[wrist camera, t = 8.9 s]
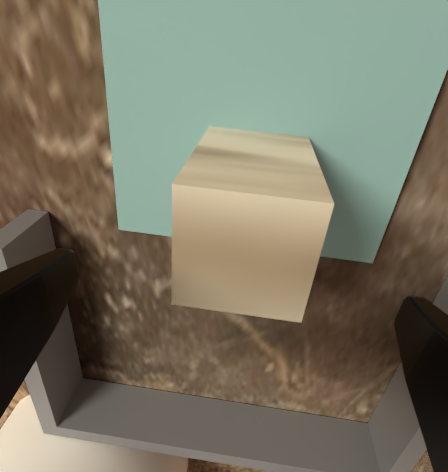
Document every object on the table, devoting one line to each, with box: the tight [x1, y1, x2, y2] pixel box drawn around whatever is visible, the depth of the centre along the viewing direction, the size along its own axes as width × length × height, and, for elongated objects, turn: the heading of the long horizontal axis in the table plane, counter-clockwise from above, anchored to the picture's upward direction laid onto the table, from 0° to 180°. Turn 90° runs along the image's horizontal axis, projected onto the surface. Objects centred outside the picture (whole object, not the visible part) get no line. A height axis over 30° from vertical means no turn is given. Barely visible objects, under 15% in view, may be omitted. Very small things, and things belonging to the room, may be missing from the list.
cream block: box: [172, 126, 334, 323], centre depth 13 cm, size 4×4×7 cm
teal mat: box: [98, 0, 448, 263], centre depth 16 cm, size 12×14×1 cm
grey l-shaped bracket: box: [0, 209, 448, 472], centre depth 21 cm, size 16×25×4 cm, turn 85°
